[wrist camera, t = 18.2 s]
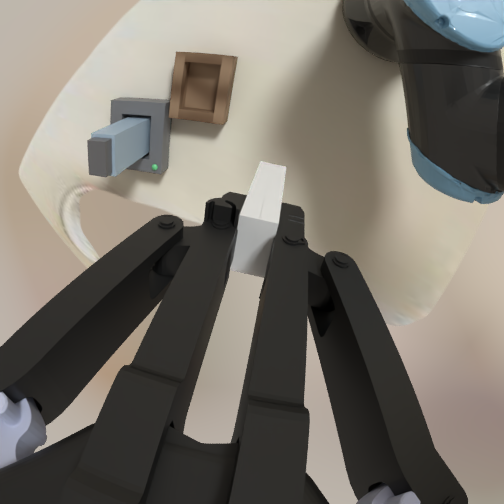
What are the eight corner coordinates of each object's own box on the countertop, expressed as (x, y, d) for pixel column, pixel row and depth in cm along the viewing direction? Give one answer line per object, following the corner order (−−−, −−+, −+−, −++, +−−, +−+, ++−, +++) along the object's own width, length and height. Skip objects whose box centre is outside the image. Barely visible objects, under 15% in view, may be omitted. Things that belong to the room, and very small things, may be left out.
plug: (133, 115, 43) (84, 136, 32) (153, 116, 43) (108, 138, 32) (132, 147, 47) (86, 177, 36) (151, 150, 47) (109, 181, 36)
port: (120, 97, 42) (110, 100, 39) (173, 100, 42) (164, 103, 39) (119, 160, 49) (110, 167, 46) (167, 167, 49) (160, 174, 46)
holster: (183, 52, 37) (176, 51, 34) (237, 57, 37) (233, 56, 34) (176, 114, 43) (168, 117, 41) (227, 121, 43) (222, 124, 40)
